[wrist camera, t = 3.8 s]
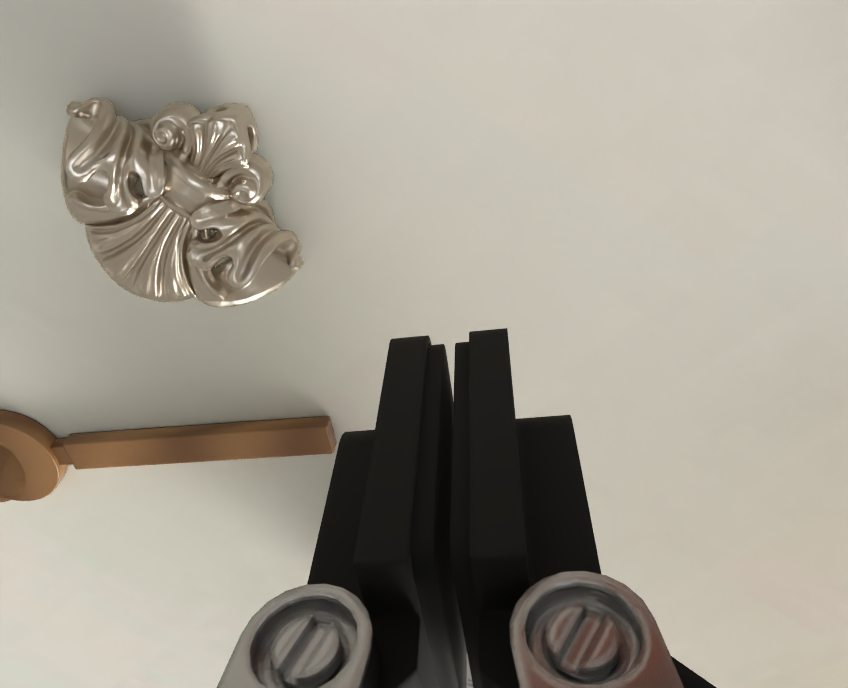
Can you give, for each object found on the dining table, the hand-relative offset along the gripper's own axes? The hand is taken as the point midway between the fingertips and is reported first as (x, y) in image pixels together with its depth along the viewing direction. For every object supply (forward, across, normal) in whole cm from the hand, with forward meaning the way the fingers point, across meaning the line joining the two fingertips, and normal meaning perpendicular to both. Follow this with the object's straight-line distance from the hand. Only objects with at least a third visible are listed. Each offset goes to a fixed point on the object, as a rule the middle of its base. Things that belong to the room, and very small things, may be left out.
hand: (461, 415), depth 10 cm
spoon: (+13, +15, +11) cm, 23 cm away
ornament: (+13, +8, 0) cm, 16 cm away
